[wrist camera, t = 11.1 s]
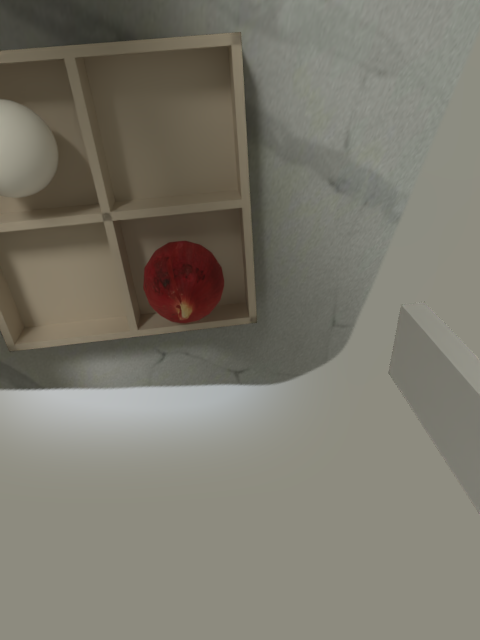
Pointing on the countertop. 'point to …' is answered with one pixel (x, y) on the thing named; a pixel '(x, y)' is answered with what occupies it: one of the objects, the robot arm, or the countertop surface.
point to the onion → (183, 281)
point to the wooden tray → (126, 186)
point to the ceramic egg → (25, 151)
